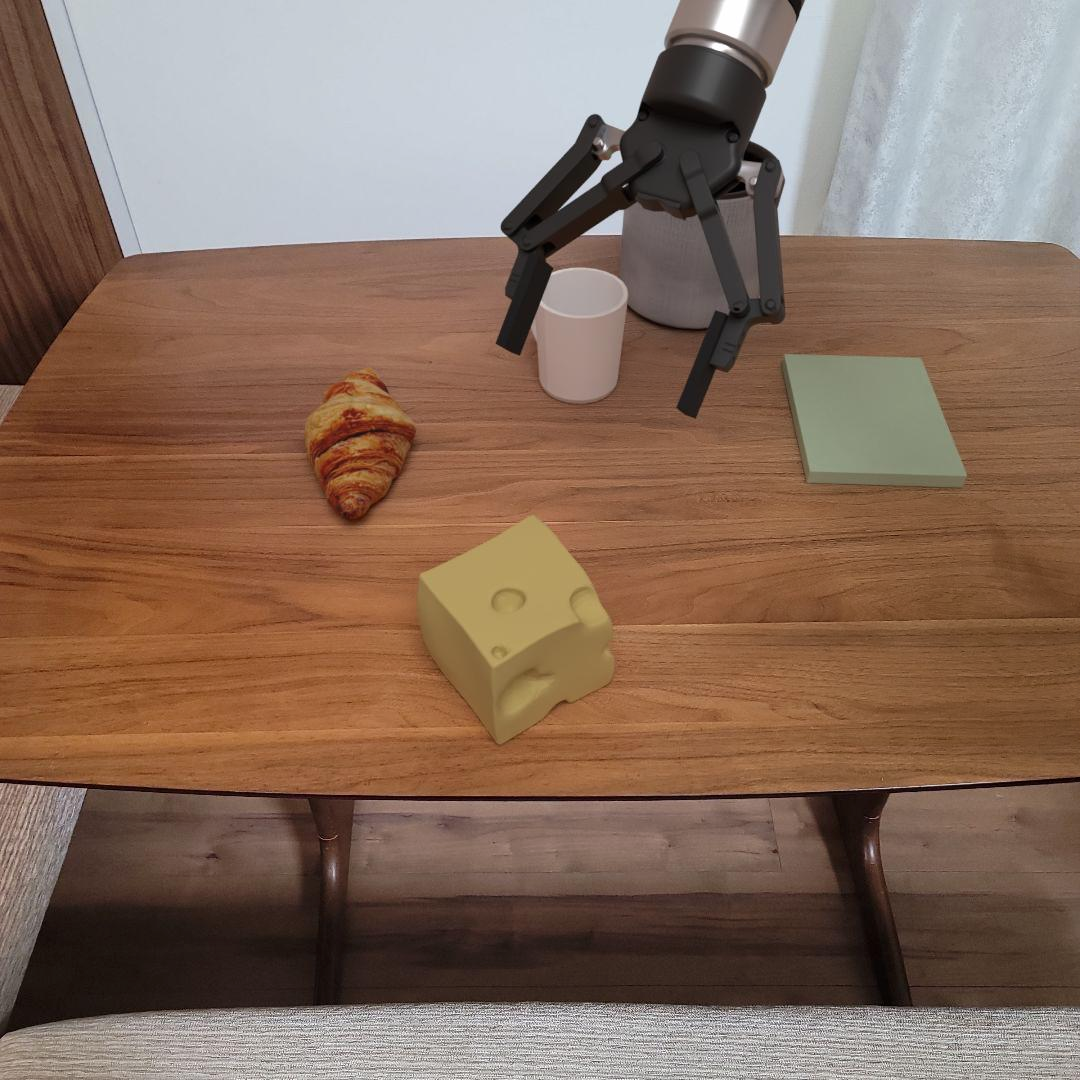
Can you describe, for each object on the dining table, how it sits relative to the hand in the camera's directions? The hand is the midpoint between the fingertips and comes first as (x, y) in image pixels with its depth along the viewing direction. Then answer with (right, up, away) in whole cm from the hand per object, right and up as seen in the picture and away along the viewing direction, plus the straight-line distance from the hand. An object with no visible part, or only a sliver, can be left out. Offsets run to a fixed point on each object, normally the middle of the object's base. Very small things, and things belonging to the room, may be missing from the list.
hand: (593, 381), depth 62 cm
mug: (0, +6, +34) cm, 34 cm away
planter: (+13, +17, +44) cm, 49 cm away
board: (+28, +1, +28) cm, 40 cm away
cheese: (-5, -21, +8) cm, 23 cm away
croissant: (-20, -3, +25) cm, 33 cm away
